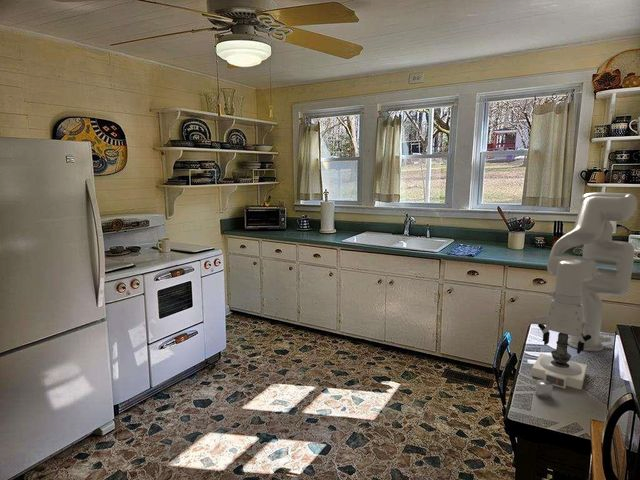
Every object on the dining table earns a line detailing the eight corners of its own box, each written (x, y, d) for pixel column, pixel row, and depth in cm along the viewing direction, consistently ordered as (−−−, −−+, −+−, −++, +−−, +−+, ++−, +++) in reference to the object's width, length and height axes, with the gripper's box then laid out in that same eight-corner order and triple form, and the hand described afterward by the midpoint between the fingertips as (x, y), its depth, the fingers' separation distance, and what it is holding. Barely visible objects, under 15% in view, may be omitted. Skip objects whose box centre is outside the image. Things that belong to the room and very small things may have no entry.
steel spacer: (546, 391, 124) (547, 379, 123) (554, 399, 120) (556, 387, 119) (532, 391, 124) (533, 379, 123) (540, 399, 120) (541, 387, 119)
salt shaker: (573, 369, 131) (577, 334, 129) (553, 367, 132) (557, 332, 130) (566, 361, 137) (570, 327, 135) (547, 359, 138) (550, 326, 136)
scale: (539, 361, 145) (540, 351, 144) (586, 373, 136) (587, 363, 136) (529, 379, 132) (530, 368, 131) (580, 393, 123) (581, 382, 123)
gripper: (535, 295, 134) (530, 344, 137) (596, 307, 123) (590, 360, 125) (541, 290, 140) (537, 337, 143) (601, 301, 128) (595, 352, 131)
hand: (562, 348), depth 134 cm, fingers open, 9 cm apart
